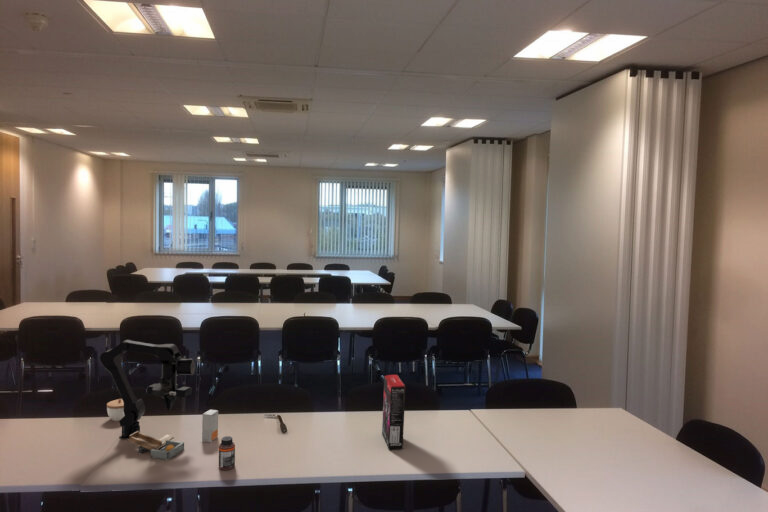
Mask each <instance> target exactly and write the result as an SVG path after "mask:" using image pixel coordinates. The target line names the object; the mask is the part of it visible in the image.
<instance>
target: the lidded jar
mask: <svg viewBox="0 0 768 512" xmlns="http://www.w3.org/2000/svg"><path fill="white" fill-rule="evenodd" d="M106 412H107V415H108V417H109V418H110V419H111V420H112V421H113V422H119V421H120V420H121V419H122V418H123V417H124V416H125V414H124V402H123V400H122V398H118V399H114V400H111V401H109V402H107V403H106Z"/></svg>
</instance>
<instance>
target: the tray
mask: <svg viewBox="0 0 768 512" xmlns="http://www.w3.org/2000/svg"><path fill="white" fill-rule="evenodd" d="M168 445H173V446H174V448H173V449H171V450H170V451H166V447H167V446H168ZM184 450H185V442H184V441H177V440H166V443H165V446H163V447H162V448H160V449H156V450H154V449H152V450H150V458H152V459H159V460H166V461H170V460H171V459H173V458H174V457H176V456H177V455H179V454H180V453H181V452H183V451H184Z"/></svg>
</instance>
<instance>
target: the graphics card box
mask: <svg viewBox="0 0 768 512" xmlns="http://www.w3.org/2000/svg"><path fill="white" fill-rule="evenodd" d="M383 379H384V381H383V399H382V401H383V403H382V404H383V405H382V424H381V425H382V427H381V436H382V437H383V439H384V442H385V444H386V447H387V449H388V450H397V449H403V448H404V430H405V429H404V426H405V406H406V405H405V404H406V403H405V402H406V399H405V398H406V385H405V383H404V382H403V380H402V379H401V378H400V377H399V375H398V374H387V375H384V378H383Z"/></svg>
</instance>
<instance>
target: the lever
mask: <svg viewBox="0 0 768 512" xmlns="http://www.w3.org/2000/svg"><path fill="white" fill-rule="evenodd" d="M173 439H175V437H174V436H173V435H171V434H165V435H164V436H163V437H161V438H159V439H158V438H154V437H152V436H150V435H147V434H144V433H143V432H141V431H140V432H139V431H136V432H135V433H133V434H131V435H129V439H127V441H128V442H130V443H133V444H135V445H137V446H138V447H140V446H142V447H144V448H147V449H148V450H149V451H151V450H152V449H154V450H159V448H160V447H162V446H164V445H166V440H170V441H173Z"/></svg>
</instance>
